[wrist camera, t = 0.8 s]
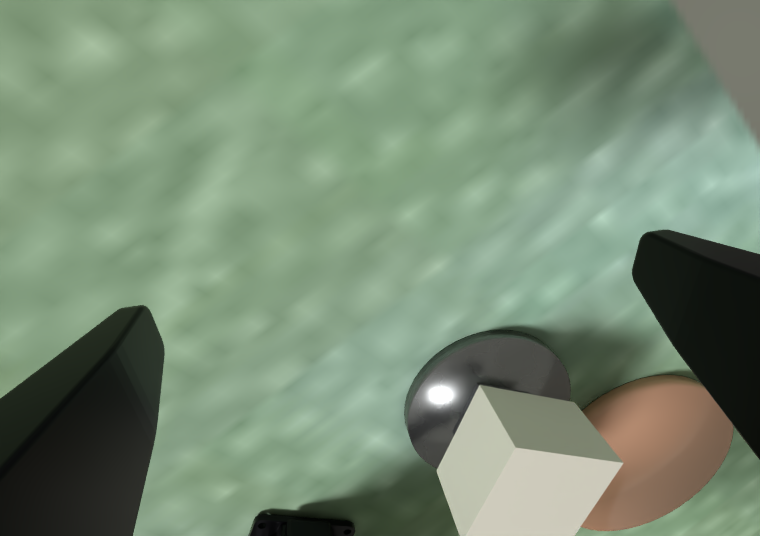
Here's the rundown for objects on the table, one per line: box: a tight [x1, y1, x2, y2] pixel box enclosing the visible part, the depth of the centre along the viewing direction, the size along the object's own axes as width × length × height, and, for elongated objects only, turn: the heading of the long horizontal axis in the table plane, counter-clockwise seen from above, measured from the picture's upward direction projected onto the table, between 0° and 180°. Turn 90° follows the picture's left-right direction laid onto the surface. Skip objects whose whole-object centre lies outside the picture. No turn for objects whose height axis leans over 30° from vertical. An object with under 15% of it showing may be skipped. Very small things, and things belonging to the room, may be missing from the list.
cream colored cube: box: [437, 385, 623, 536], centre depth 25 cm, size 6×6×4 cm
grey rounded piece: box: [404, 330, 571, 469], centre depth 27 cm, size 10×10×6 cm
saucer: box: [581, 375, 733, 531], centre depth 33 cm, size 13×13×1 cm
